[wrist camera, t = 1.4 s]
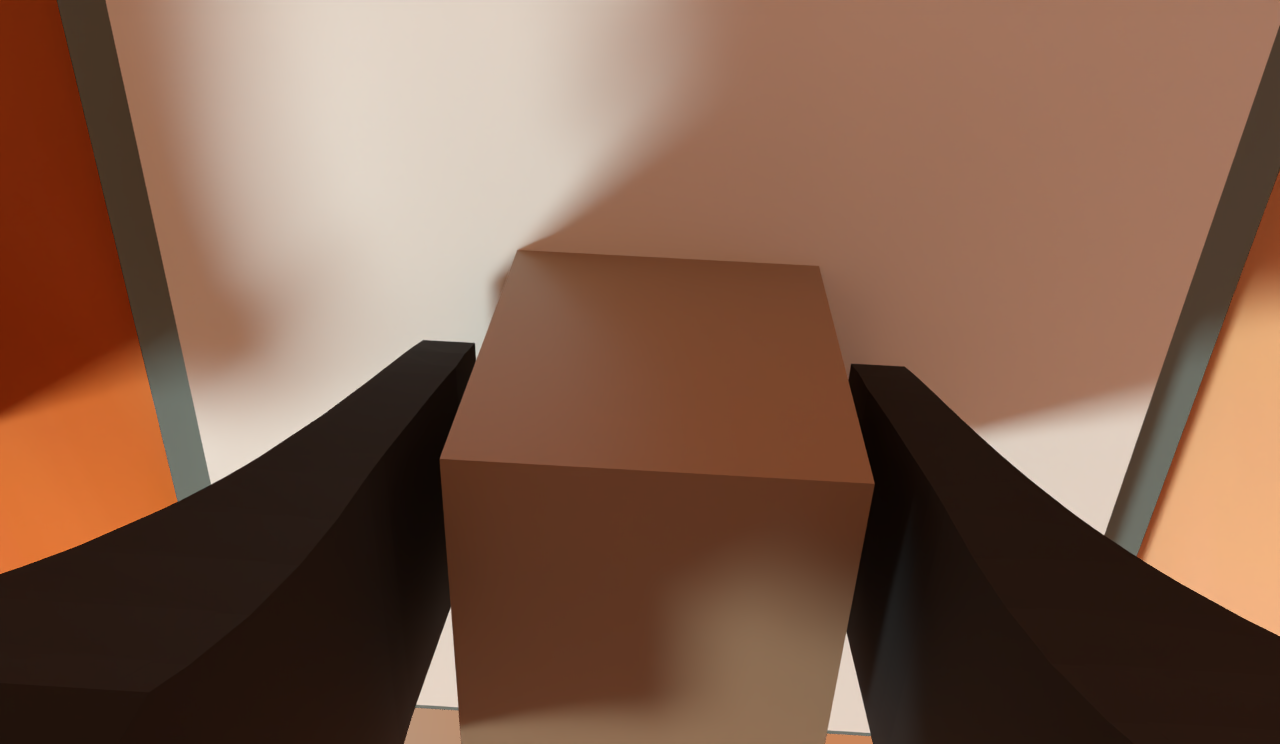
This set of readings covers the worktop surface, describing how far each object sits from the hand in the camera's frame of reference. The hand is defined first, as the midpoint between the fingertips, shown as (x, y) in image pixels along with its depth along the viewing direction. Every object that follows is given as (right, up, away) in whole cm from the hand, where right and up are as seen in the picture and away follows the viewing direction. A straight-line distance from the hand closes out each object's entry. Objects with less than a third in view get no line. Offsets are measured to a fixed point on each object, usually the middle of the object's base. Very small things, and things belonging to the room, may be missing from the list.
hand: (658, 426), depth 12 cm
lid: (0, +1, +1) cm, 2 cm away
